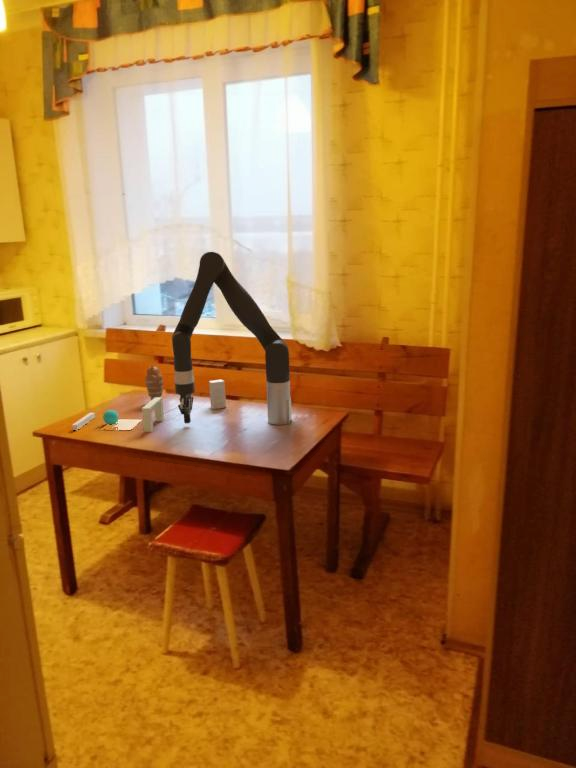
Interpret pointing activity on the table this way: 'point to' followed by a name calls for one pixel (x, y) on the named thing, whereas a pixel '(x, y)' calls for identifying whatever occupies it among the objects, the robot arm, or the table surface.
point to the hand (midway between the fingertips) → (187, 422)
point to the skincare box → (217, 394)
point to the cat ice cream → (154, 382)
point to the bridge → (147, 413)
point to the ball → (110, 417)
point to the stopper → (83, 421)
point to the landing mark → (126, 424)
